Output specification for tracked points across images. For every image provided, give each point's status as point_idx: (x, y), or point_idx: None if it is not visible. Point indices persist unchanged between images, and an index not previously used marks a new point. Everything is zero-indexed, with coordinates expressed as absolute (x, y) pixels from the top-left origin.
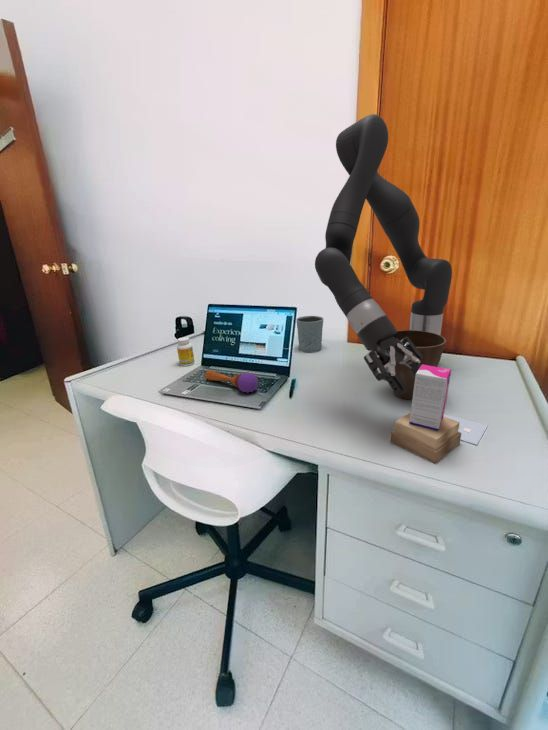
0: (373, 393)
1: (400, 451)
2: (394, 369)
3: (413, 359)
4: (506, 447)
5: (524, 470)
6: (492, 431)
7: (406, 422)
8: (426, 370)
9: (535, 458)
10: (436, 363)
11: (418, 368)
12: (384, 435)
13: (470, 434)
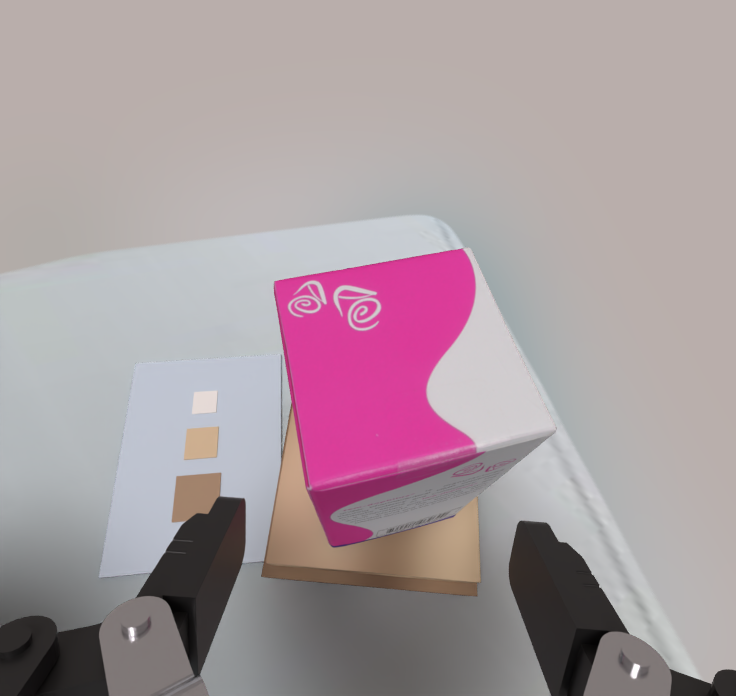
0: None
1: (487, 527)
2: (590, 683)
3: (184, 659)
4: (239, 297)
5: (324, 250)
6: (161, 345)
7: (448, 533)
8: (435, 391)
9: (253, 243)
10: None
11: (210, 583)
12: (440, 646)
13: (227, 386)
